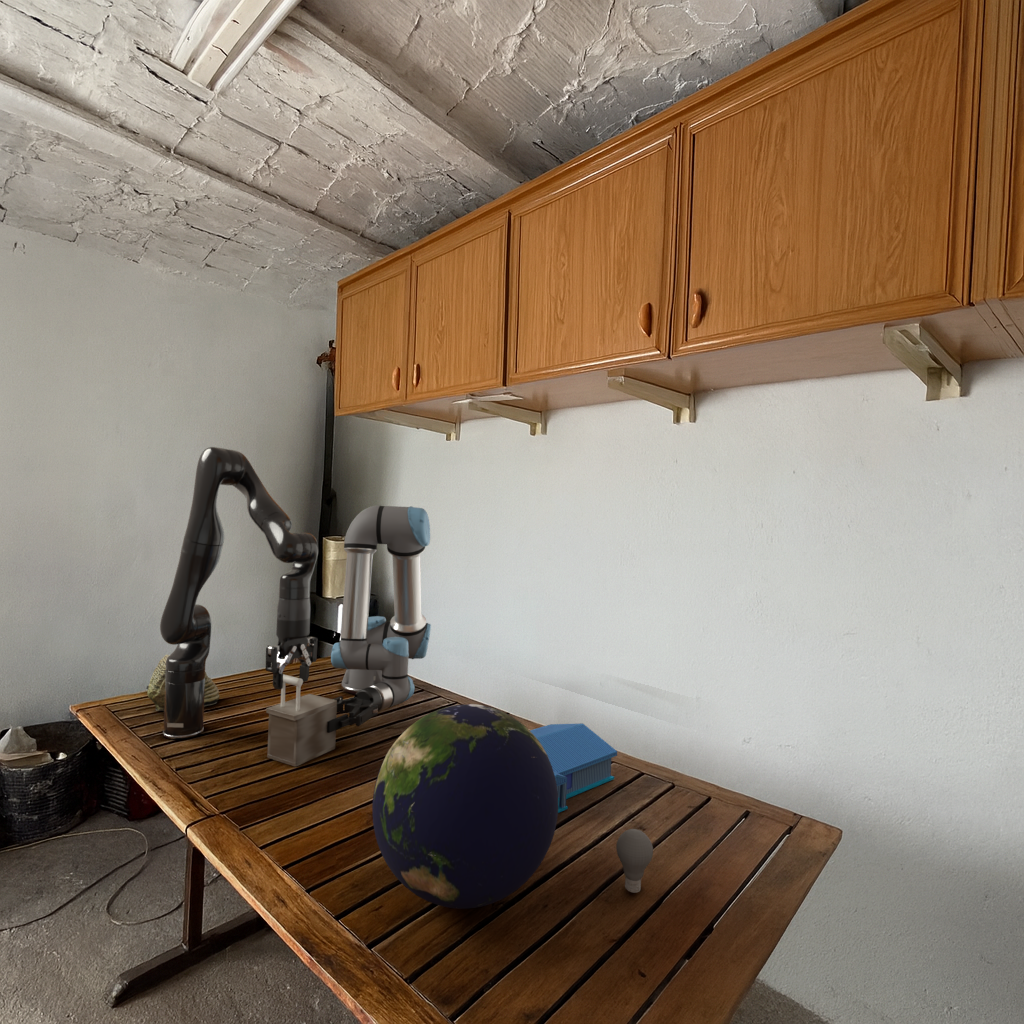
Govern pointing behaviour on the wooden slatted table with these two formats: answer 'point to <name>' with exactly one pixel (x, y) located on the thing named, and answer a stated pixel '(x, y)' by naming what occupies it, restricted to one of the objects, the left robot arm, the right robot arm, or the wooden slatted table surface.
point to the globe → (465, 806)
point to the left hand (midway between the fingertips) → (291, 684)
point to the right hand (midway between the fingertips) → (313, 723)
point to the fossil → (158, 687)
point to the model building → (575, 758)
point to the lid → (299, 702)
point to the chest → (300, 737)
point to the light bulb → (634, 857)
